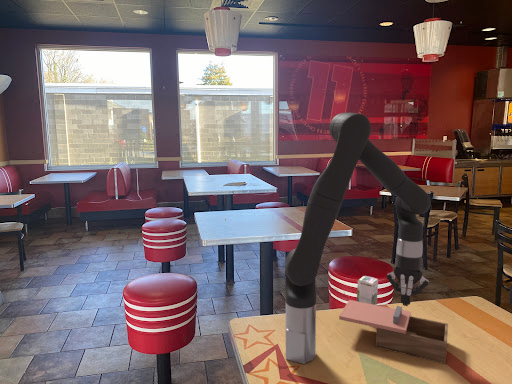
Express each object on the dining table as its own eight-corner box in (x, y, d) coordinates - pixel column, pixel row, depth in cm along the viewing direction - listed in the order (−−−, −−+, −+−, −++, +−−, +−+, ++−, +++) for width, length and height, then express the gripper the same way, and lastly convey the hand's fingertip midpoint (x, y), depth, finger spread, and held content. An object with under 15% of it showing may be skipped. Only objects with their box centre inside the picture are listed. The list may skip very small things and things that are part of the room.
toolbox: (445, 363, 112) (447, 343, 111) (375, 346, 122) (376, 328, 120) (446, 342, 124) (448, 323, 123) (382, 328, 133) (383, 310, 132)
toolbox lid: (405, 333, 116) (406, 322, 116) (339, 319, 126) (339, 309, 125) (410, 315, 128) (411, 304, 128) (349, 303, 138) (349, 293, 137)
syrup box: (361, 311, 146) (362, 275, 144) (376, 315, 142) (378, 278, 140) (355, 316, 141) (356, 279, 139) (371, 321, 138) (372, 283, 136)
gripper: (385, 253, 119) (382, 305, 121) (431, 259, 113) (427, 314, 116) (388, 246, 125) (385, 296, 128) (432, 252, 119) (428, 304, 122)
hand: (405, 304), depth 122 cm, fingers closed
